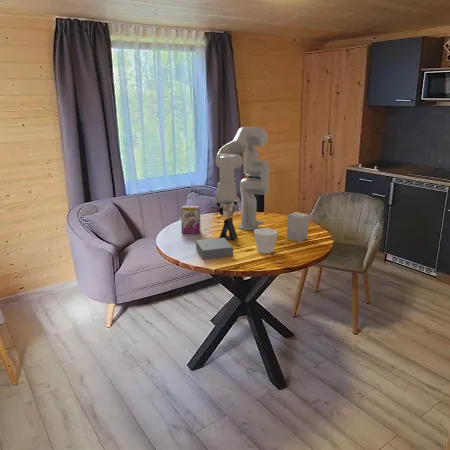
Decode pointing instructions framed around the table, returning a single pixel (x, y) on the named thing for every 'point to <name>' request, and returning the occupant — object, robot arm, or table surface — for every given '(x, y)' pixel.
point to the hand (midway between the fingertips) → (226, 213)
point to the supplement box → (297, 226)
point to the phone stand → (230, 227)
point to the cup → (265, 239)
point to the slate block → (214, 248)
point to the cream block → (227, 209)
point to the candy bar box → (190, 219)
